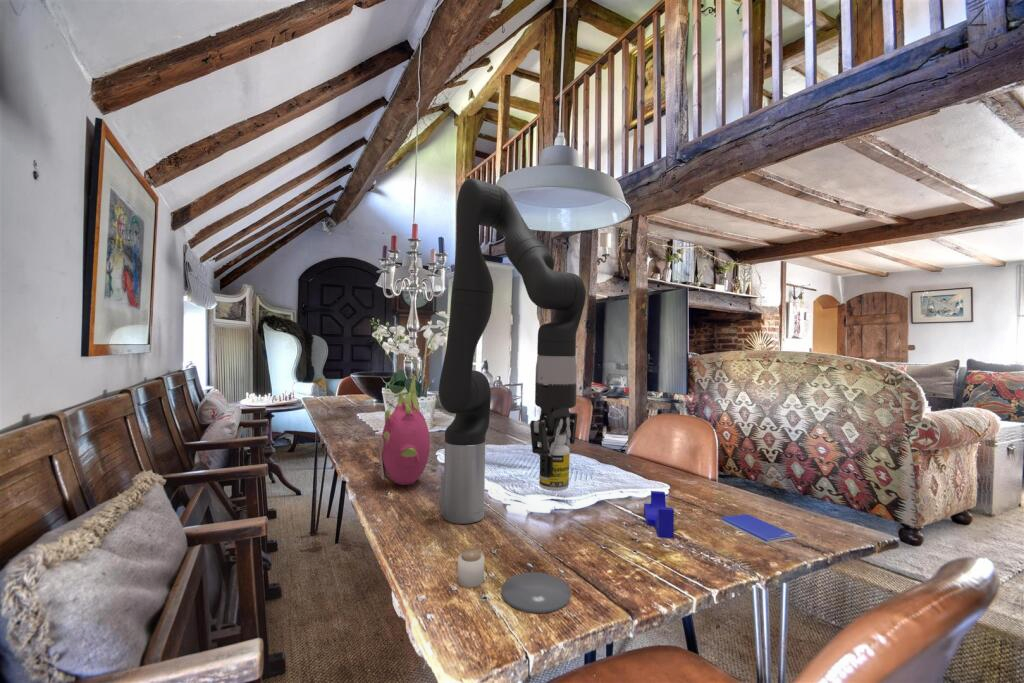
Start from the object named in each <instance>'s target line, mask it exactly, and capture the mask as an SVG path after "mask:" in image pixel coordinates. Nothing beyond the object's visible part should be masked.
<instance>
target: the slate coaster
mask: <svg viewBox="0 0 1024 683" xmlns="http://www.w3.org/2000/svg"><path fill="white" fill-rule="evenodd" d="M571 594H572V590H571V587H570V586H569V584H568V583H567V582H566V581H565V580H564V579H561V578H560V577H558V576H556V575H553V574H550V573H544V572H535V571H534V572H531V571H530V572H522V573H519V574H516V575H513V576H510V577H509V578H507V579H506V580H505V581H504V583H503V584H502V587H501V595H502V598H504V599H503V600H504V601H505V603H507V605H509V606H510V607H512V608H513V609H516V610H518V611H521V612H526V613H531V614H548V613H553V611H554V612H556V611H559V610H561V609H563V608H565V607H566V606H567V605H568V604H569V603H570V601H571V597H572V595H571Z"/></svg>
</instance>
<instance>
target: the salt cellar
mask: <svg viewBox="0 0 1024 683" xmlns="http://www.w3.org/2000/svg"><path fill="white" fill-rule="evenodd" d="M484 582H485V555H484V554H483V553H482V551H481V550H480V549H479V548H475V547H468V548H465V549H463V550H462V551H461V553H460V554H459V555H458V557H457V583H458V585H459V586H461V587H463V588H468V587H470V588H471V589H472V588H477V587H479V585H480V586H481V585H483V584H484ZM482 583H483V584H482ZM470 588H469V589H470Z"/></svg>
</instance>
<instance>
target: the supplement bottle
mask: <svg viewBox="0 0 1024 683" xmlns="http://www.w3.org/2000/svg"><path fill="white" fill-rule="evenodd" d="M547 438H552V437H551V436H547ZM565 443H566V434H565V433H563V434H560V435H559V438H558V442H557V444H555V445H554V449H553V454H552V456H553V470H552V476H551V477H549V478H547V477H543V476H541V475H540V474H539V477H538V479H539V484H538V485H539V487H540V488H541V489H543V490H545V491H546V490H547V491H552V492H559V491H565V490H567V489H568V488H569V484H570V483H569V482H570V457H571V456H570V454H571V453H570V451H571V450H570V449H569V447H568V446H566V445H565ZM547 447H549V443H547Z"/></svg>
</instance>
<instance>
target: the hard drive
mask: <svg viewBox="0 0 1024 683" xmlns="http://www.w3.org/2000/svg"><path fill="white" fill-rule="evenodd" d="M720 522H721V523H723V524H725V525H727V526H729V527H731V528H733V529H734V530H736V531H738V532H741V533H743V534H745V535H747V536H749V537H750V538H753V539H755V538H756V539H755V540H757V539H758V540H757V541H759V540H760V541H759V542H761V541H762V542H761V543H763V542H764V543H763V544H765V543H766V544H765V545H767V544H768V543H773V542H779V541H784V540H790V539H795V538H798V537H797V535H796V534H793V533H792V532H789V531H787V530H785V529H782V528H780V527H778V526H775V525H773V524H771V523H769V522H767V521H765V520H762V519H760V518H758V517H755V516H752V515H751V514H748V513H746V514H745V513H744V514H738V515H730V516H723V517H721V518H720ZM768 545H769V544H768Z"/></svg>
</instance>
